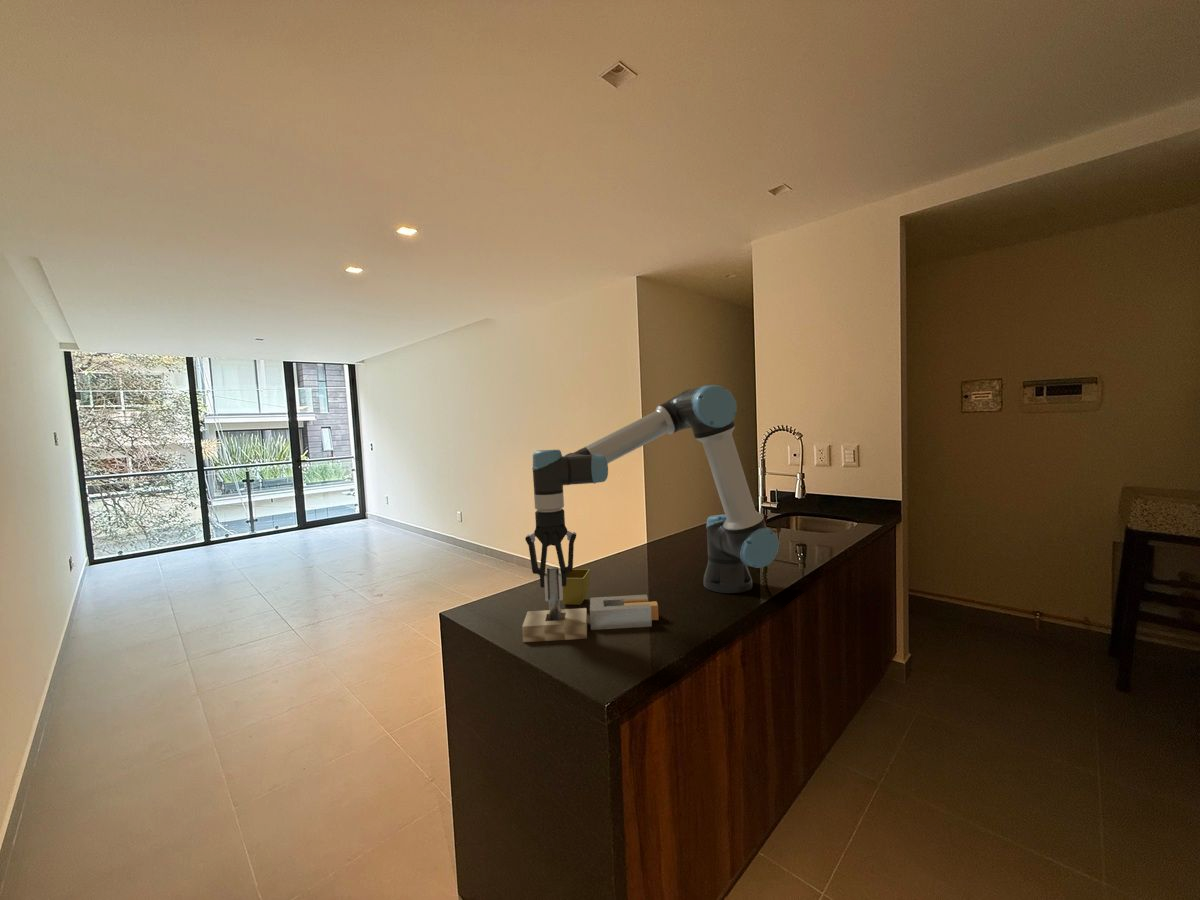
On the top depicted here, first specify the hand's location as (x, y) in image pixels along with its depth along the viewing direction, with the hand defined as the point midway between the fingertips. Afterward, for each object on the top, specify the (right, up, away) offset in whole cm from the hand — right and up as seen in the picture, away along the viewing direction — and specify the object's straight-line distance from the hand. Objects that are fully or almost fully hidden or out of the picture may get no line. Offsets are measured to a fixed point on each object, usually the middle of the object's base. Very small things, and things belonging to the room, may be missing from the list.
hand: (554, 598), depth 124 cm
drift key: (+23, -7, +6) cm, 25 cm away
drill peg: (0, -6, 0) cm, 6 cm away
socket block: (+17, -8, +6) cm, 20 cm away
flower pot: (+4, -8, +21) cm, 23 cm away
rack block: (+1, -9, 0) cm, 9 cm away
